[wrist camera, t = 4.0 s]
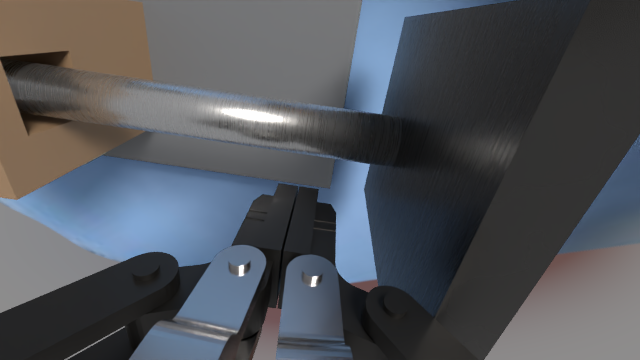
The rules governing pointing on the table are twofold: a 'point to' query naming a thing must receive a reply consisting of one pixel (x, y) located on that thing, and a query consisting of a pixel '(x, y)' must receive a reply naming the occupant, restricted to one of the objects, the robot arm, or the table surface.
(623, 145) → the shaft
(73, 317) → the robot arm
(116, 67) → the shaft rig
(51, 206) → the table surface
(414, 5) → the table surface
